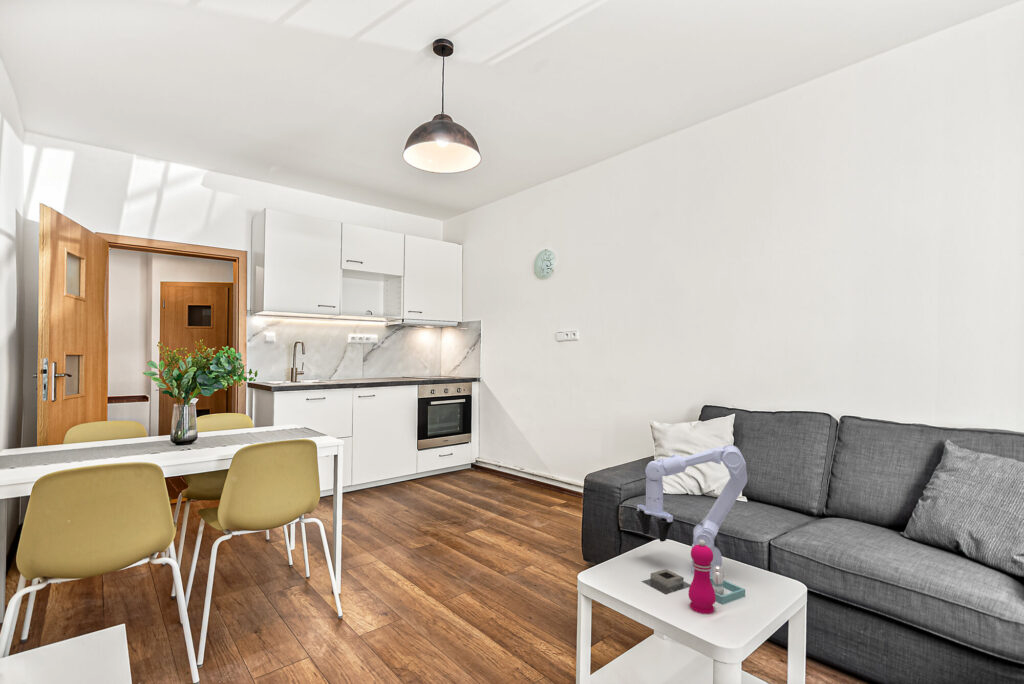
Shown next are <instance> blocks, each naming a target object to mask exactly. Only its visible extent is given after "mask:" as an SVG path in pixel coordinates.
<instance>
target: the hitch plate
mask: <svg viewBox="0 0 1024 684" xmlns="http://www.w3.org/2000/svg"><path fill="white" fill-rule="evenodd" d="M649 575H650V578H648V579H644V580H641V581H640V582H642V583H643V584H645V585H646V586H649V587H651V588H653V589H654V590H656V591H658V592H660V593H661V594H664V595H669V594H672V593H676V592H678V591H682V590H685V589H688V588H690V585H691V583H688V582H686V581H684V580H685V578H684V577H683V576H681V575H679V574H677V573H676V572H673V571H671V570H669V569H661V570H657V571H654V572H651V573H650V574H649Z"/></svg>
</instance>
